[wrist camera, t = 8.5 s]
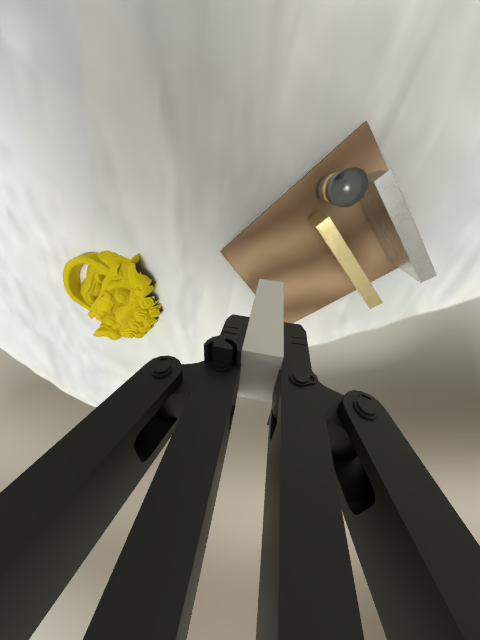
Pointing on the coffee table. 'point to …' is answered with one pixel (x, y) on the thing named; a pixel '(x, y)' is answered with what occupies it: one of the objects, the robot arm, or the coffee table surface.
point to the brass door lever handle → (343, 252)
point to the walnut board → (312, 236)
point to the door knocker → (113, 294)
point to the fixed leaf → (383, 216)
